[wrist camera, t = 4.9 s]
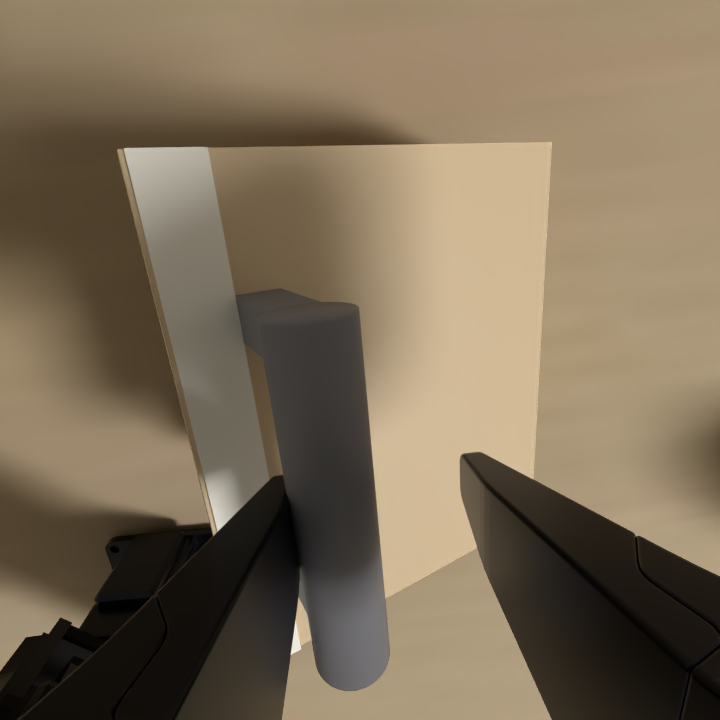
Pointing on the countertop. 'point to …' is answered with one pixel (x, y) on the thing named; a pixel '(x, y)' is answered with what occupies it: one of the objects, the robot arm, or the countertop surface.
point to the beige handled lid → (349, 349)
